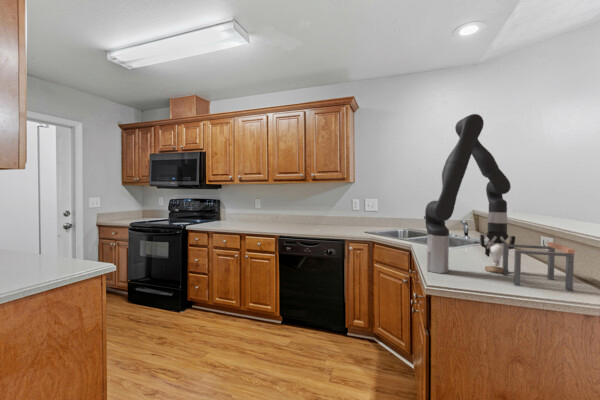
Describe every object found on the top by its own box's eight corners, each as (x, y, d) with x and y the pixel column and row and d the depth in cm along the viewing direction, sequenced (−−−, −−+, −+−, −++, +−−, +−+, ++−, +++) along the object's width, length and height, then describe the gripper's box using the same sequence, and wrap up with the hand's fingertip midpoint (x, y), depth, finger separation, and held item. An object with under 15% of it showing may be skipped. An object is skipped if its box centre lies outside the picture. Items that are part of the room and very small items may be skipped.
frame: (515, 285, 112) (516, 250, 111) (502, 274, 127) (503, 243, 126) (572, 291, 105) (573, 254, 105) (552, 278, 120) (552, 246, 120)
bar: (567, 253, 106) (567, 249, 105) (547, 245, 120) (547, 242, 120) (574, 253, 105) (574, 249, 105) (553, 246, 120) (553, 242, 120)
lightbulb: (507, 267, 128) (508, 244, 128) (492, 267, 129) (492, 243, 129) (500, 264, 134) (501, 241, 134) (485, 263, 135) (486, 241, 135)
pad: (487, 272, 129) (487, 270, 129) (482, 267, 138) (482, 265, 137) (511, 274, 126) (511, 272, 126) (504, 269, 134) (504, 267, 134)
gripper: (481, 221, 130) (480, 257, 131) (518, 223, 125) (518, 260, 125) (477, 220, 137) (477, 254, 138) (512, 221, 132) (512, 256, 132)
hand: (496, 256), depth 132 cm, fingers closed on lightbulb, 6 cm apart
